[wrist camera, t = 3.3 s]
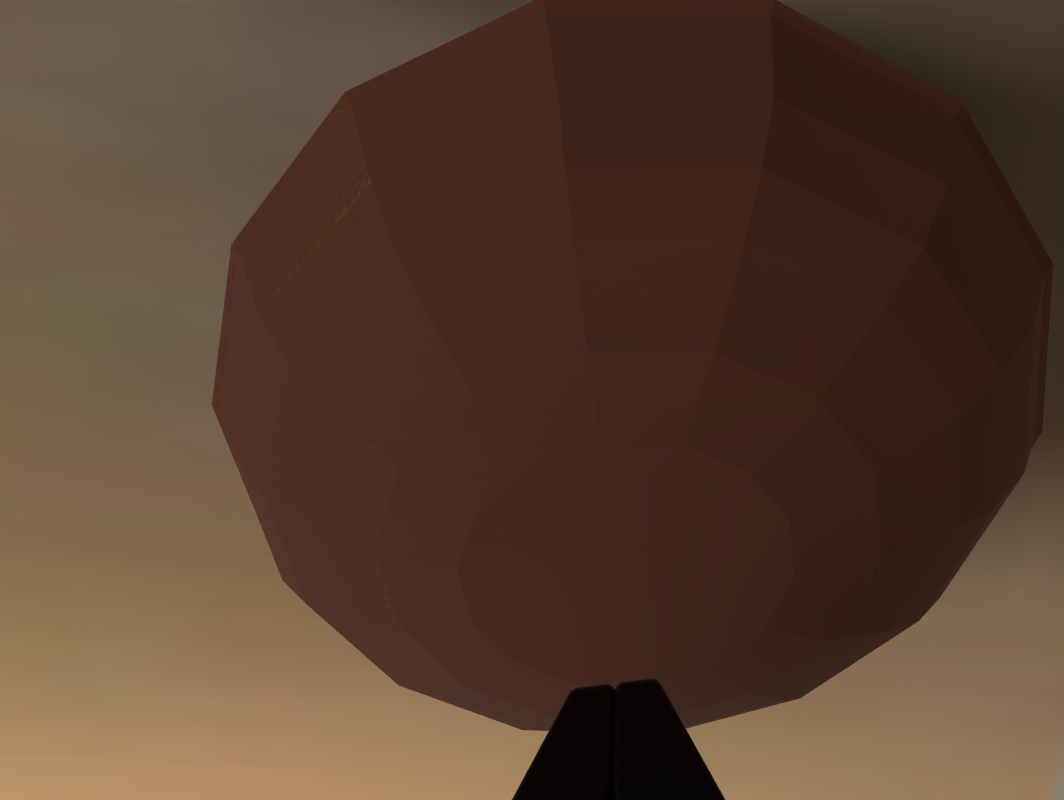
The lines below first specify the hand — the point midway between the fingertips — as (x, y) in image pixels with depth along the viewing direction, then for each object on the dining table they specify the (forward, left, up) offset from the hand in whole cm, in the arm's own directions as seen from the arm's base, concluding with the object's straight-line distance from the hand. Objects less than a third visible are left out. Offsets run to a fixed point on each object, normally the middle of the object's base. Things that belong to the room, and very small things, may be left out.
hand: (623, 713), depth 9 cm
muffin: (0, 0, -12) cm, 12 cm away
